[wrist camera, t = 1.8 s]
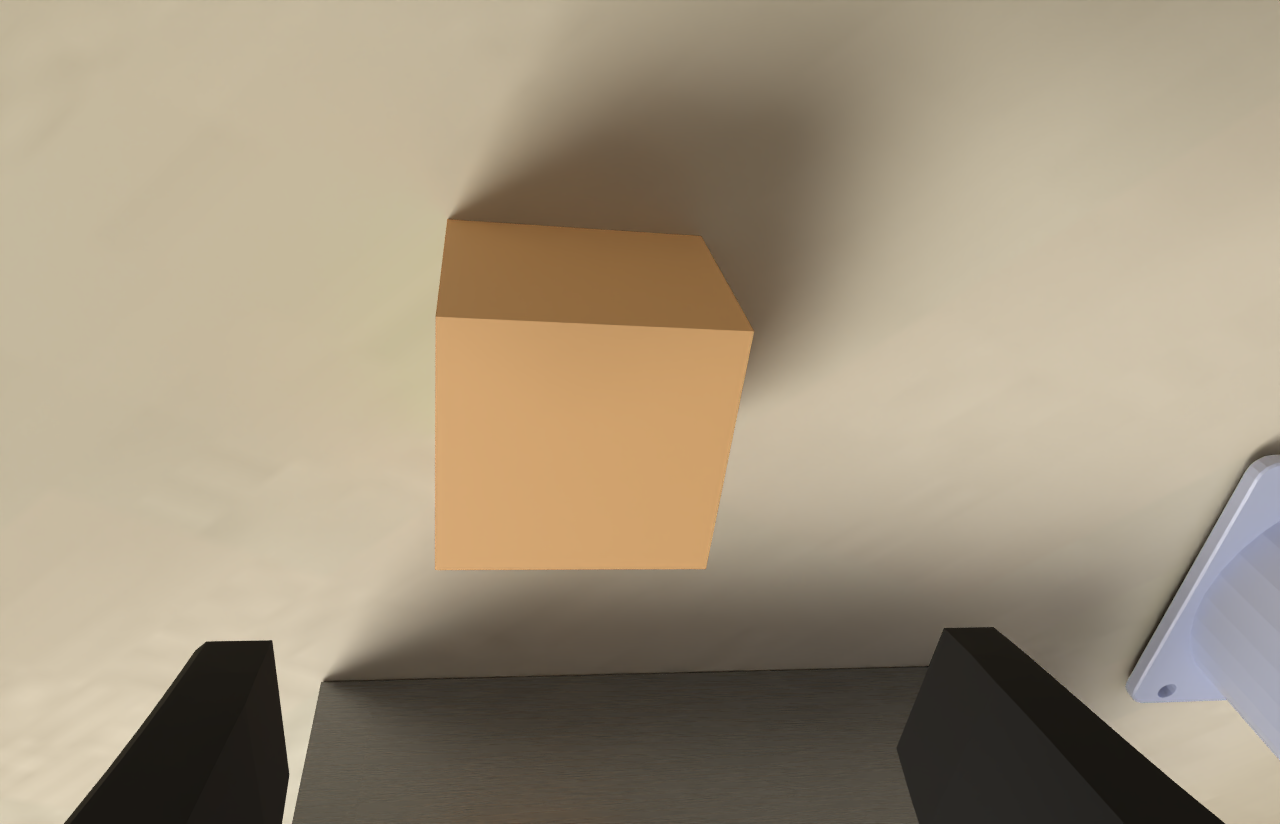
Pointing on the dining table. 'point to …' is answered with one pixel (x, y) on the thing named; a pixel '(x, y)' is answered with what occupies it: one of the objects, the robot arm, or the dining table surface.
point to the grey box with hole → (613, 749)
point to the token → (582, 398)
